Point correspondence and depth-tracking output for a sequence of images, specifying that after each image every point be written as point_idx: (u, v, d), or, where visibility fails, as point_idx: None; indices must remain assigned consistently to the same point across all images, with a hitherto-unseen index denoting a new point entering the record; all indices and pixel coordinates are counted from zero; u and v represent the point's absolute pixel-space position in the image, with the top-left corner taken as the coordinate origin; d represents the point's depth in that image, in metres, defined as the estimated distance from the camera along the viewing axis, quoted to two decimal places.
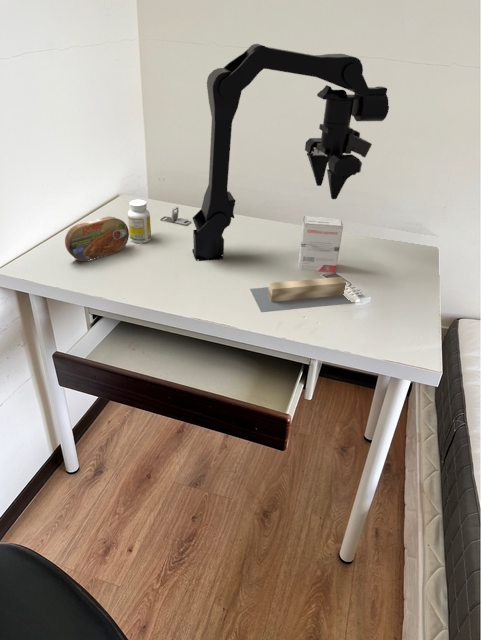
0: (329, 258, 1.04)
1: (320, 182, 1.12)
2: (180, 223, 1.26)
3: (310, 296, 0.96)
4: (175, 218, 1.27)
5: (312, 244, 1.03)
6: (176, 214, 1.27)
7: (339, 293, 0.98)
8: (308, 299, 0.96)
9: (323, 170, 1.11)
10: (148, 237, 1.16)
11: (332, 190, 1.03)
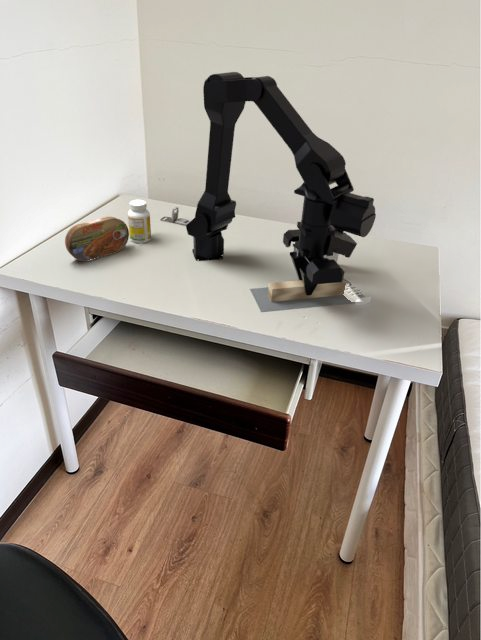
0: (329, 258, 1.04)
1: None
2: (180, 223, 1.26)
3: (310, 296, 0.96)
4: (175, 218, 1.27)
5: None
6: (176, 214, 1.27)
7: (339, 293, 0.98)
8: (308, 299, 0.96)
9: None
10: (148, 237, 1.16)
11: (306, 287, 0.94)
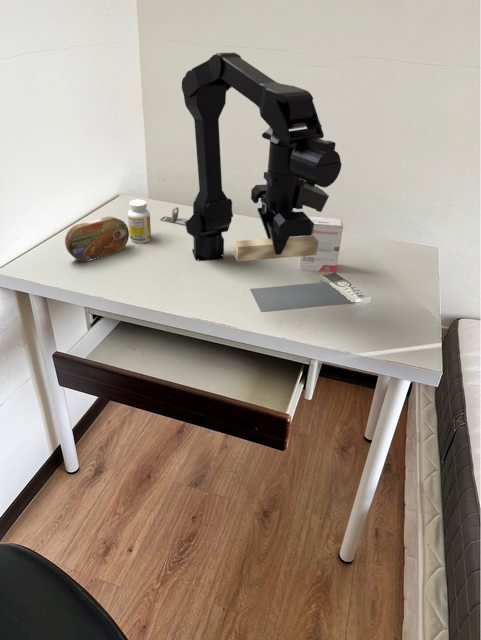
0: (329, 258, 1.04)
1: None
2: (180, 223, 1.26)
3: (280, 256, 0.89)
4: (175, 218, 1.27)
5: None
6: (176, 214, 1.27)
7: (311, 253, 0.91)
8: (308, 299, 0.96)
9: None
10: (148, 237, 1.16)
11: (275, 245, 0.86)
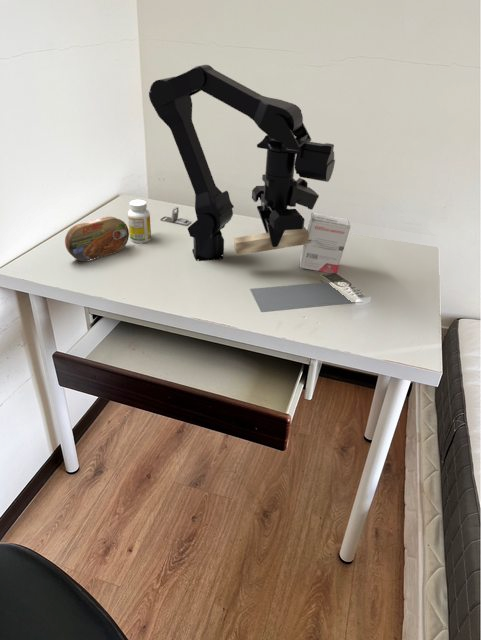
0: (332, 257, 1.04)
1: None
2: (180, 223, 1.26)
3: (274, 247, 1.02)
4: (175, 218, 1.27)
5: (318, 241, 1.03)
6: (176, 214, 1.27)
7: (303, 242, 1.02)
8: (308, 299, 0.96)
9: None
10: (148, 237, 1.16)
11: (272, 238, 0.99)
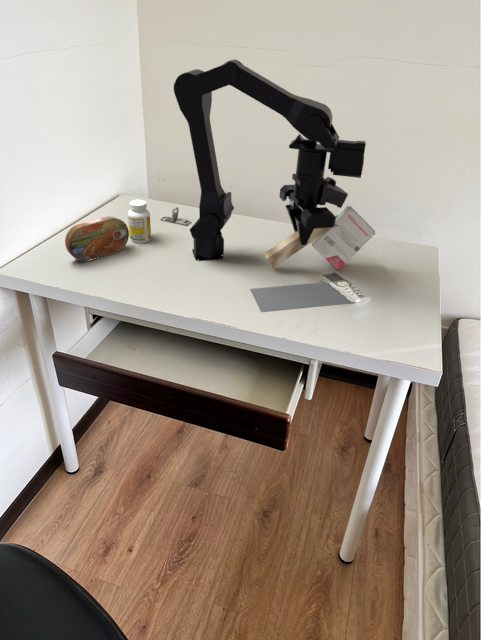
0: (345, 252, 1.05)
1: None
2: (180, 223, 1.26)
3: (304, 245, 1.03)
4: (175, 218, 1.27)
5: (342, 230, 1.03)
6: (176, 214, 1.27)
7: None
8: (308, 299, 0.96)
9: None
10: (148, 237, 1.16)
11: (301, 237, 1.00)
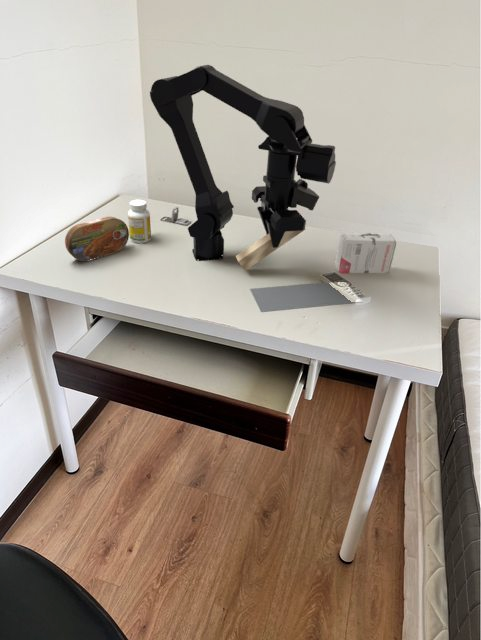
0: (357, 267, 1.06)
1: None
2: (180, 223, 1.26)
3: None
4: (175, 218, 1.27)
5: (373, 251, 1.04)
6: (176, 214, 1.27)
7: None
8: (308, 299, 0.96)
9: None
10: (148, 237, 1.16)
11: (272, 239, 0.99)
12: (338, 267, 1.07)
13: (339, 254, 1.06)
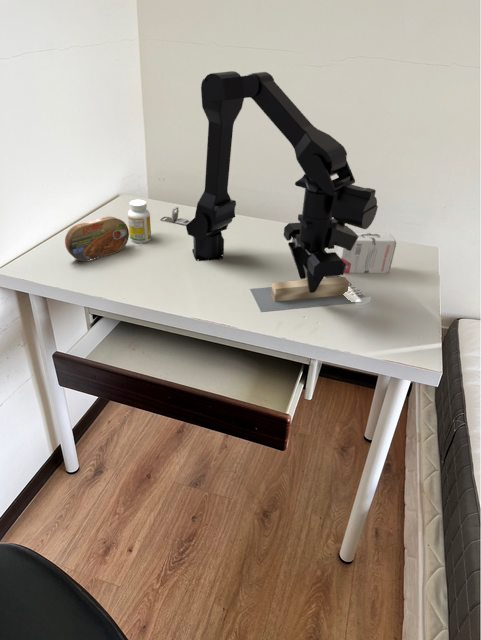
0: (357, 267, 1.06)
1: (304, 275, 0.98)
2: (180, 223, 1.26)
3: (313, 296, 0.96)
4: (175, 218, 1.27)
5: (373, 251, 1.04)
6: (176, 214, 1.27)
7: (342, 293, 0.98)
8: (308, 299, 0.96)
9: (307, 262, 0.97)
10: (148, 237, 1.16)
11: (310, 284, 0.92)
12: None
13: (339, 254, 1.06)
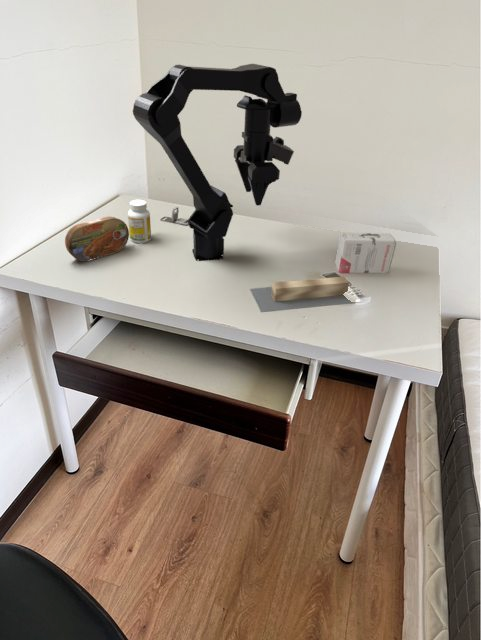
0: (357, 267, 1.06)
1: (249, 188, 1.14)
2: (180, 223, 1.26)
3: (313, 296, 0.96)
4: (175, 218, 1.27)
5: (373, 251, 1.04)
6: (176, 214, 1.27)
7: (342, 293, 0.98)
8: (308, 299, 0.96)
9: None
10: (148, 237, 1.16)
11: (255, 197, 1.05)
12: (338, 267, 1.07)
13: (339, 254, 1.06)
